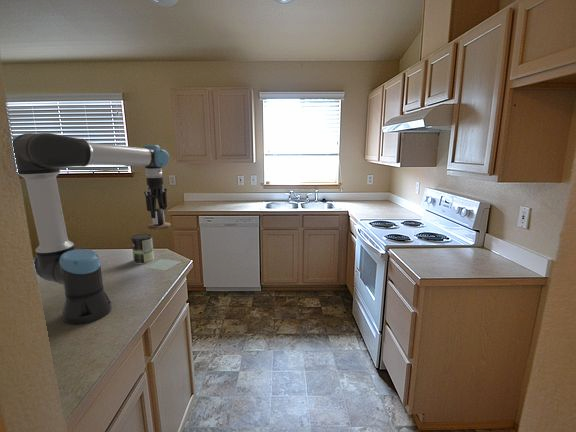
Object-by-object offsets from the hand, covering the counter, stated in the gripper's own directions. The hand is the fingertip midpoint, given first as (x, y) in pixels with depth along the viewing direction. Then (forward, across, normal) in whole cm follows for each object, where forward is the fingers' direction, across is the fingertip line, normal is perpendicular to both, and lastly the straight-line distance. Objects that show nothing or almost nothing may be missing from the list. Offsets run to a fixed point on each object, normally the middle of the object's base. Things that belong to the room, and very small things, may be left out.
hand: (158, 222), depth 157 cm
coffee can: (+23, +2, +14) cm, 27 cm away
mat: (+23, 0, 0) cm, 23 cm away
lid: (+2, 0, 0) cm, 2 cm away
